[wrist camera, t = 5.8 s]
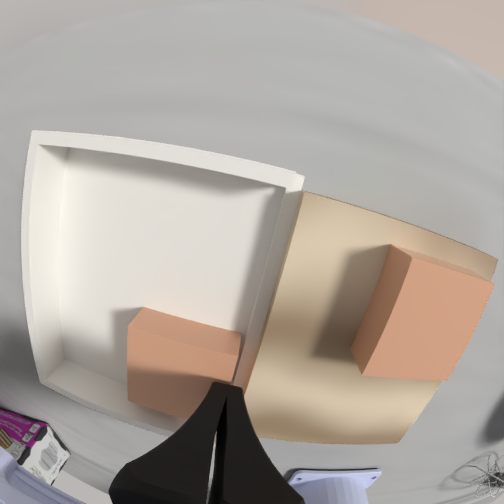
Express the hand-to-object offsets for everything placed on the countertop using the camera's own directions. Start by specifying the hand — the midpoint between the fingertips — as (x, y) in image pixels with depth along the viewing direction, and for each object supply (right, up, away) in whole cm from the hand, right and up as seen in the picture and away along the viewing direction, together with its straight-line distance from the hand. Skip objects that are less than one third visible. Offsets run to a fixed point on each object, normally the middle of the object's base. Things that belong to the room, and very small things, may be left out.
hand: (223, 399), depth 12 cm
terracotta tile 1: (-2, +1, +2) cm, 3 cm away
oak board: (+7, +2, +2) cm, 8 cm away
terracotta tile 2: (+9, +4, -1) cm, 10 cm away
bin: (-4, +5, +2) cm, 7 cm away
